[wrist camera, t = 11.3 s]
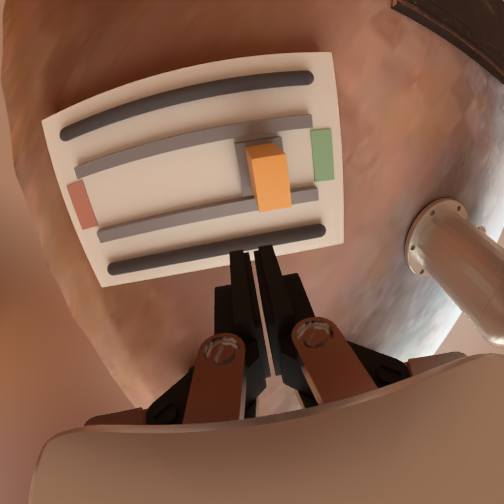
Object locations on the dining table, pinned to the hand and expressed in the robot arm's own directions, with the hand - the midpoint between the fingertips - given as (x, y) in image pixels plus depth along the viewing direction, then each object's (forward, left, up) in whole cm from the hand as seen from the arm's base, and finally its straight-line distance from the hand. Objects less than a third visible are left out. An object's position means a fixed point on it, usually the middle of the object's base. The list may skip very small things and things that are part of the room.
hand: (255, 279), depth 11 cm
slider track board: (+4, -1, -19) cm, 19 cm away
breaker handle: (-2, -1, -16) cm, 16 cm away
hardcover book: (-33, -22, -20) cm, 45 cm away
